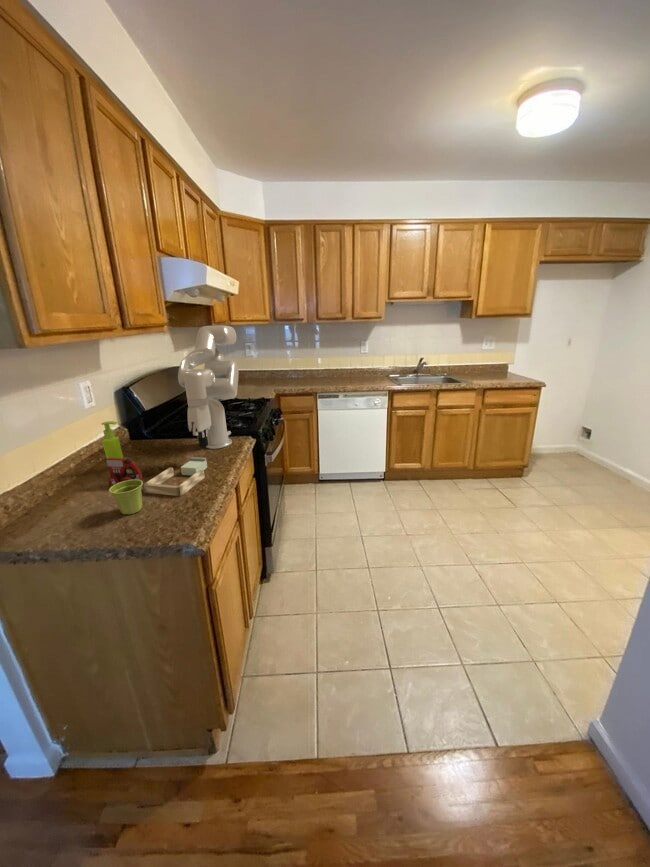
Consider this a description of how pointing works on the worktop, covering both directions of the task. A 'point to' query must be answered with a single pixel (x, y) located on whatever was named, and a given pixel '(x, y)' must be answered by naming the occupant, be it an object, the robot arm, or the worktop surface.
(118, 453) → the soap dispenser
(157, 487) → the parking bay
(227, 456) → the worktop surface
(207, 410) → the robot arm
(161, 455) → the worktop surface
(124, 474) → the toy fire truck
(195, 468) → the pale green block
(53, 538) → the worktop surface
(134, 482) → the plant pot
